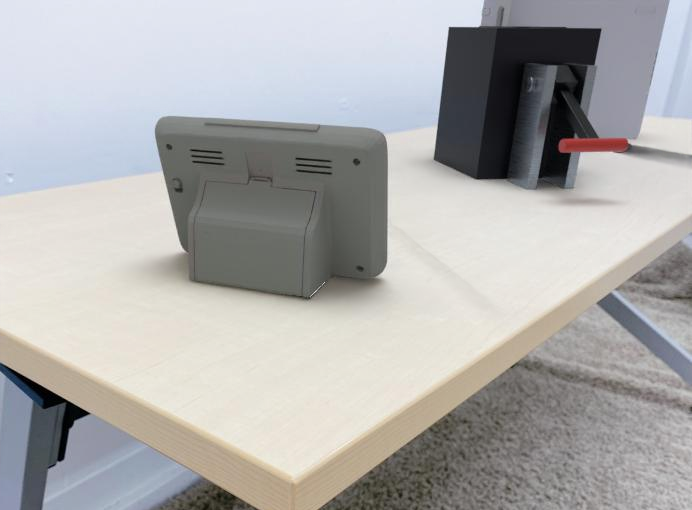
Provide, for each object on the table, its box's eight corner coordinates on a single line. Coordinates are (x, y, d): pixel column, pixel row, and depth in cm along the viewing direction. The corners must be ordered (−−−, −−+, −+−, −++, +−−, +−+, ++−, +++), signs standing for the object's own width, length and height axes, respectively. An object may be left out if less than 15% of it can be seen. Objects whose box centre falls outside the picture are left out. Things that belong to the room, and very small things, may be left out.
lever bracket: (582, 201, 72) (609, 65, 66) (516, 202, 71) (539, 66, 65) (555, 190, 76) (579, 63, 71) (494, 191, 75) (513, 63, 70)
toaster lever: (619, 159, 65) (633, 138, 63) (558, 160, 64) (570, 139, 62) (574, 85, 71) (585, 64, 69) (518, 86, 70) (528, 64, 68)
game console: (456, 157, 94) (476, -9, 86) (601, 145, 105) (631, -4, 97) (486, 165, 89) (512, -11, 81) (635, 151, 100) (671, -6, 92)
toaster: (570, 188, 77) (602, 27, 70) (474, 191, 75) (497, 26, 69) (517, 168, 88) (540, 26, 81) (432, 169, 86) (448, 25, 80)
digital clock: (398, 278, 49) (414, 120, 45) (337, 318, 43) (348, 137, 38) (213, 240, 58) (212, 104, 54) (138, 268, 51) (129, 115, 47)
